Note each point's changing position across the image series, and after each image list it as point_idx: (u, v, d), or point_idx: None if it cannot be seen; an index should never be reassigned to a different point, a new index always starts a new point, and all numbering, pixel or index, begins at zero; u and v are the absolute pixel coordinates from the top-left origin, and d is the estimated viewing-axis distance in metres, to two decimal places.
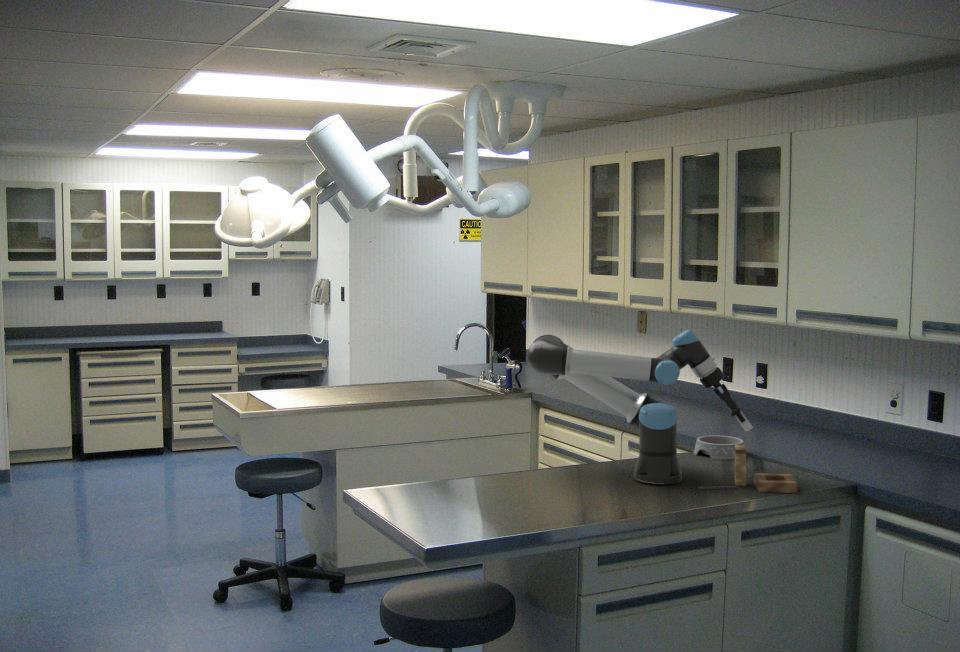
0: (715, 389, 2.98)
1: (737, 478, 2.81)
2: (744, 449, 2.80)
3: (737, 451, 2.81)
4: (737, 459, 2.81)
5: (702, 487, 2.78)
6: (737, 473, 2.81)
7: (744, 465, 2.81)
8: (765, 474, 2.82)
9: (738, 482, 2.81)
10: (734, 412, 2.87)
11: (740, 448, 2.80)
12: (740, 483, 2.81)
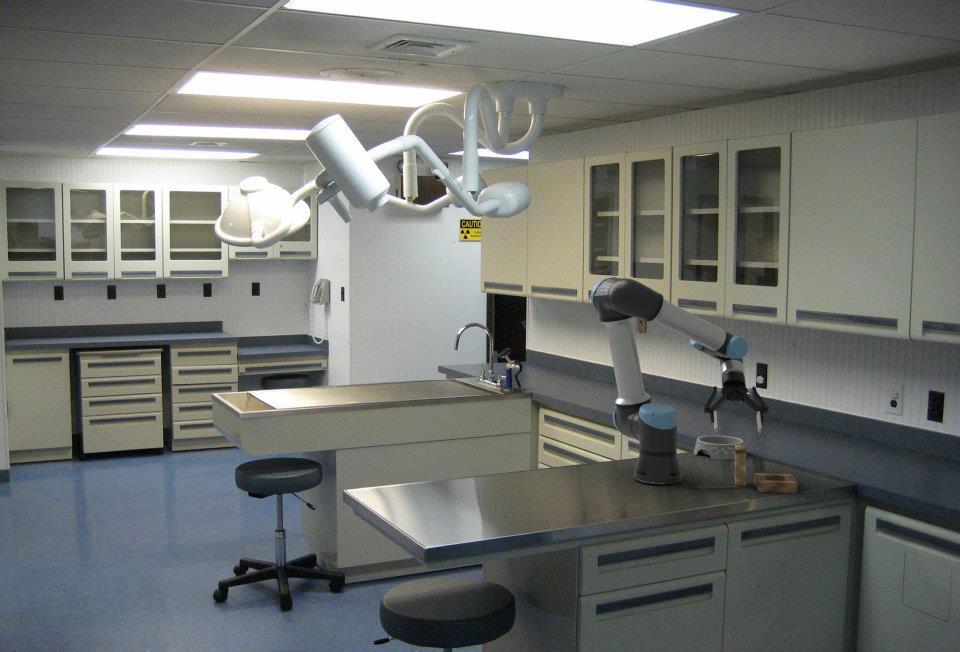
0: None
1: (737, 478, 2.81)
2: (744, 449, 2.80)
3: (737, 451, 2.81)
4: (737, 459, 2.81)
5: (702, 487, 2.78)
6: (737, 473, 2.81)
7: (744, 465, 2.81)
8: (765, 474, 2.82)
9: (738, 482, 2.81)
10: None
11: (740, 448, 2.80)
12: (740, 483, 2.81)
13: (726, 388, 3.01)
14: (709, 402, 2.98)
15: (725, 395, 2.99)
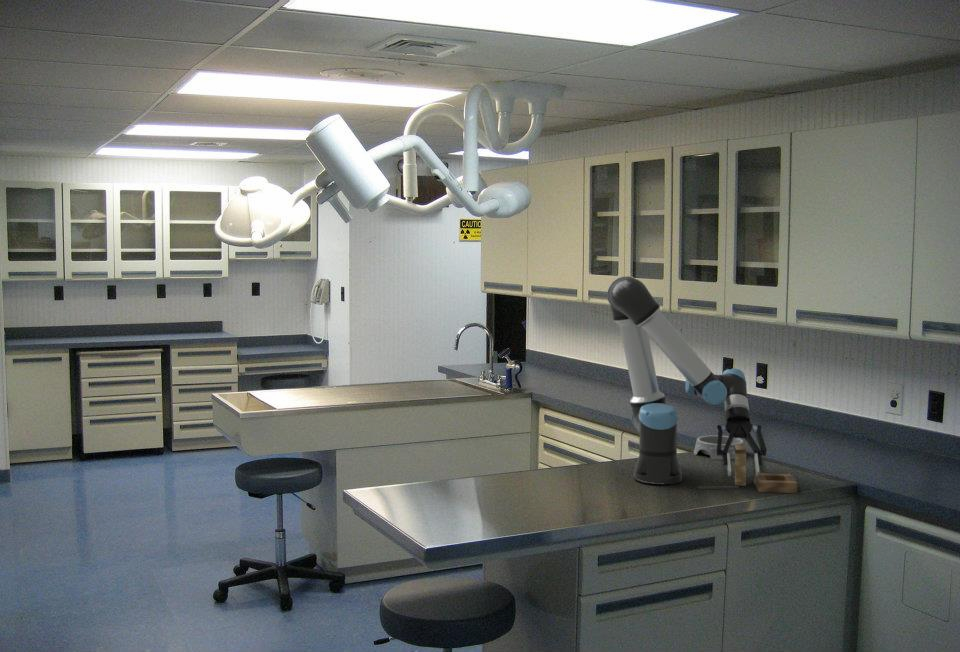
0: None
1: (737, 478, 2.81)
2: (744, 449, 2.80)
3: (737, 451, 2.81)
4: (737, 459, 2.81)
5: (702, 487, 2.78)
6: (737, 473, 2.81)
7: (744, 465, 2.81)
8: (765, 474, 2.82)
9: (738, 482, 2.81)
10: (766, 451, 2.82)
11: (740, 448, 2.80)
12: (740, 483, 2.81)
13: (730, 424, 2.90)
14: (719, 443, 2.86)
15: (732, 433, 2.87)
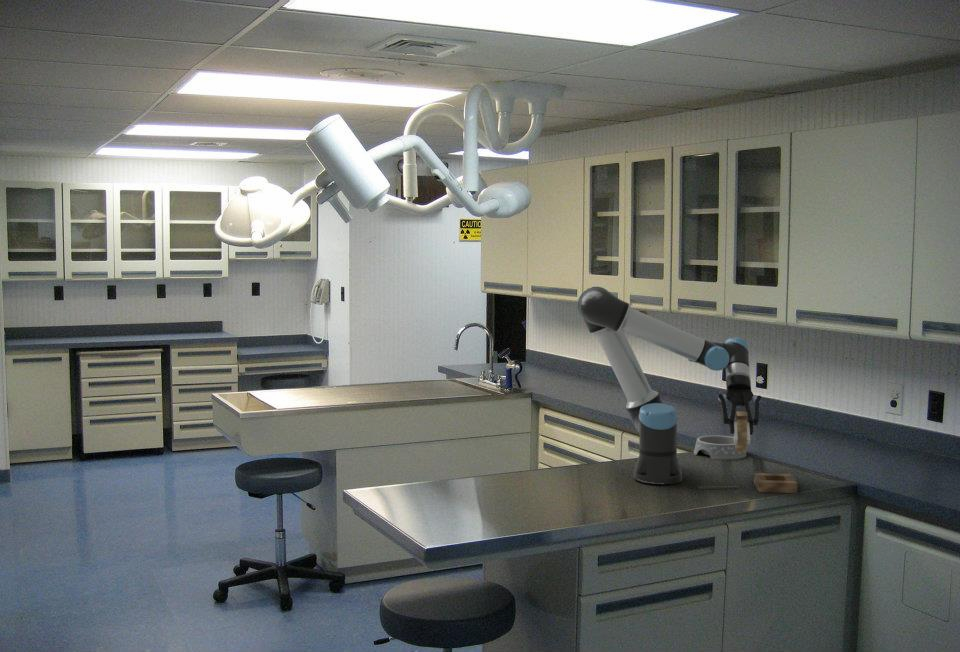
0: None
1: (738, 444, 2.80)
2: (745, 415, 2.79)
3: (738, 417, 2.80)
4: (738, 425, 2.80)
5: (702, 487, 2.78)
6: (738, 439, 2.80)
7: (745, 431, 2.80)
8: (765, 474, 2.82)
9: (738, 448, 2.81)
10: None
11: (741, 414, 2.79)
12: (740, 449, 2.80)
13: (730, 391, 2.89)
14: (725, 412, 2.84)
15: (735, 401, 2.86)
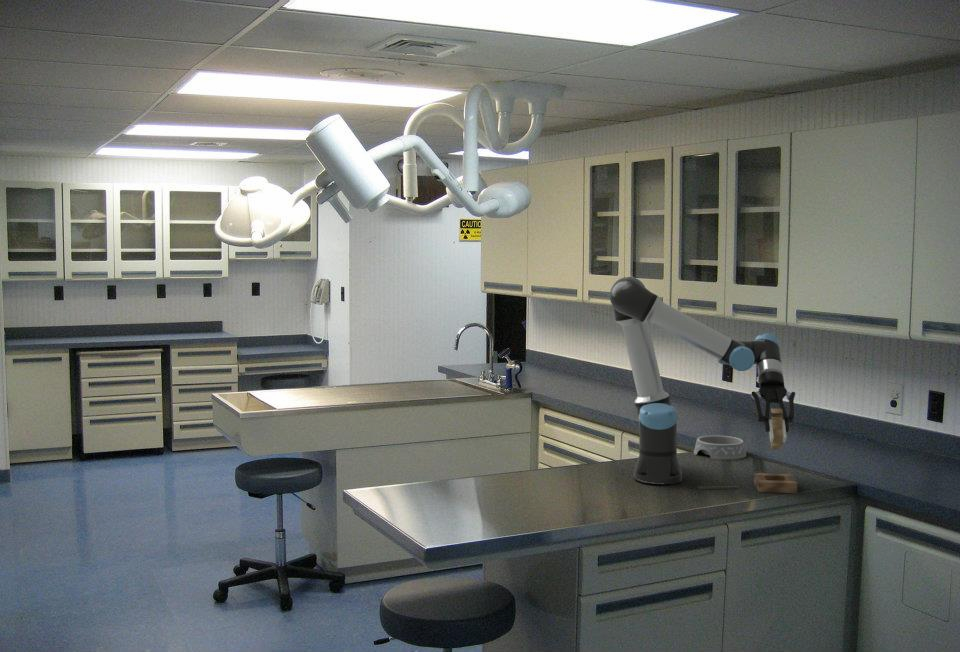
0: None
1: (773, 442, 2.76)
2: (781, 412, 2.74)
3: (773, 414, 2.75)
4: (773, 422, 2.75)
5: (702, 487, 2.78)
6: None
7: (780, 429, 2.75)
8: (765, 474, 2.82)
9: (774, 446, 2.76)
10: (793, 418, 2.77)
11: (776, 411, 2.75)
12: (776, 447, 2.76)
13: (763, 388, 2.84)
14: (759, 409, 2.79)
15: (768, 398, 2.81)
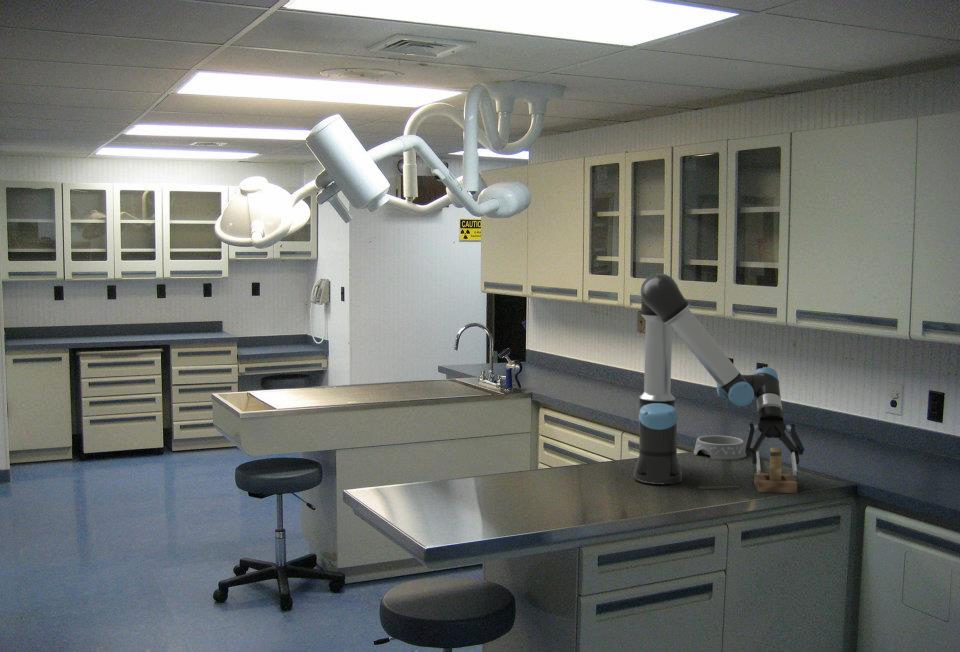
0: None
1: None
2: (779, 451, 2.76)
3: (772, 453, 2.76)
4: (772, 462, 2.77)
5: (702, 487, 2.78)
6: (772, 476, 2.77)
7: (779, 468, 2.76)
8: (765, 474, 2.82)
9: None
10: (803, 450, 2.78)
11: (775, 450, 2.76)
12: None
13: (763, 424, 2.85)
14: (749, 441, 2.81)
15: (764, 432, 2.82)
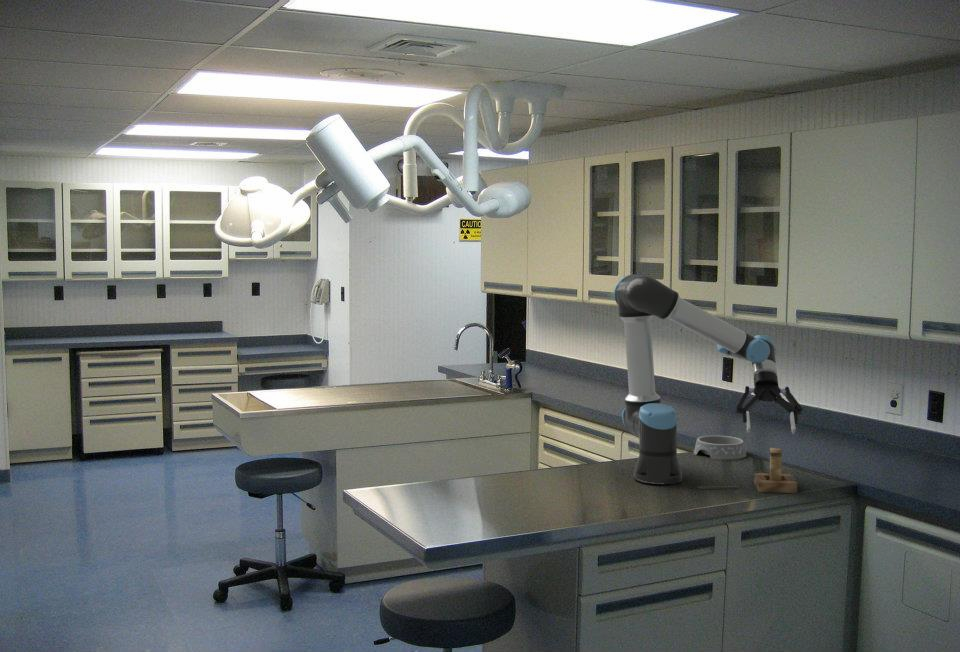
0: None
1: None
2: (779, 452, 2.76)
3: (772, 454, 2.76)
4: (772, 462, 2.76)
5: (702, 487, 2.78)
6: (772, 476, 2.77)
7: (779, 468, 2.76)
8: (765, 474, 2.82)
9: None
10: (802, 409, 2.89)
11: (775, 451, 2.76)
12: None
13: (758, 388, 2.96)
14: (741, 402, 2.93)
15: (758, 395, 2.93)
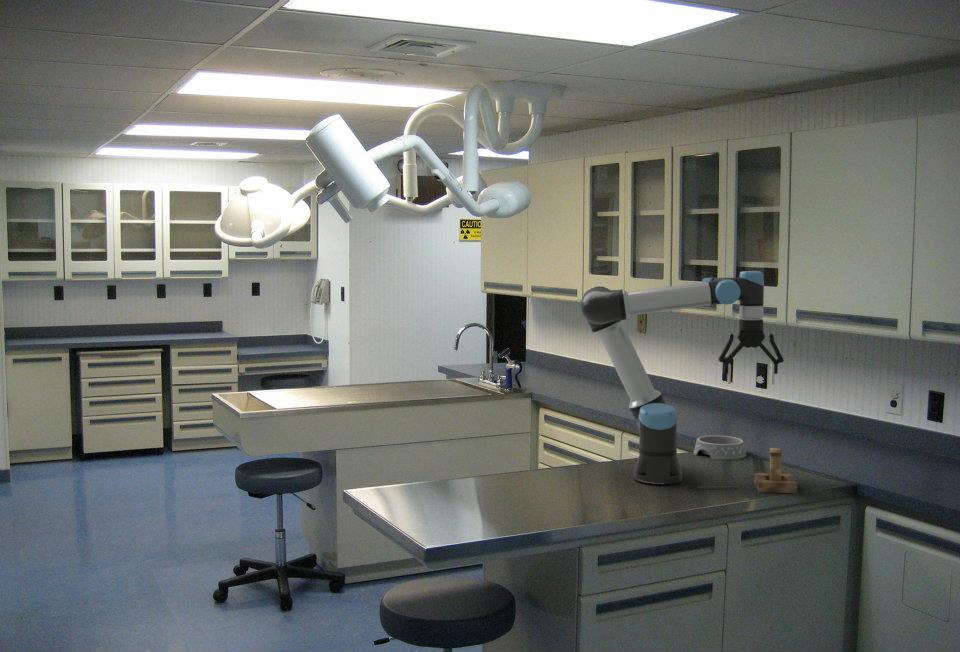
0: (748, 337, 2.95)
1: None
2: (779, 452, 2.76)
3: (772, 454, 2.76)
4: (772, 462, 2.76)
5: (702, 487, 2.78)
6: (772, 476, 2.77)
7: (779, 468, 2.76)
8: (765, 474, 2.82)
9: None
10: None
11: (775, 451, 2.76)
12: None
13: (743, 336, 2.95)
14: (724, 354, 2.96)
15: (741, 346, 2.95)
